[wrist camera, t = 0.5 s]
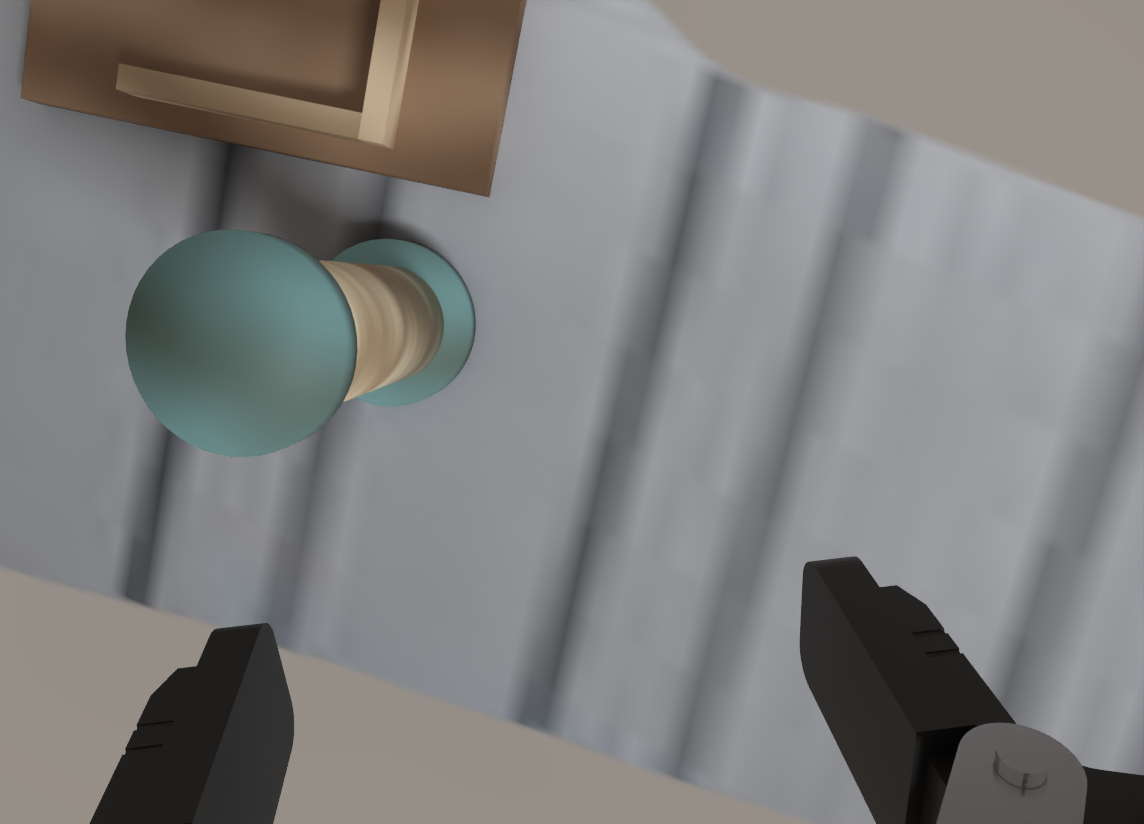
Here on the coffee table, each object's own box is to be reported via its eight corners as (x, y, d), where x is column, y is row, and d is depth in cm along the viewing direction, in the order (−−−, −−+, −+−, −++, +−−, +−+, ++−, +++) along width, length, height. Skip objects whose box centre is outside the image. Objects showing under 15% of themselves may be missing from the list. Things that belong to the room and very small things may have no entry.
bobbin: (331, 225, 38) (125, 185, 23) (489, 258, 38) (385, 240, 23) (305, 383, 39) (92, 444, 24) (459, 417, 39) (340, 500, 24)
